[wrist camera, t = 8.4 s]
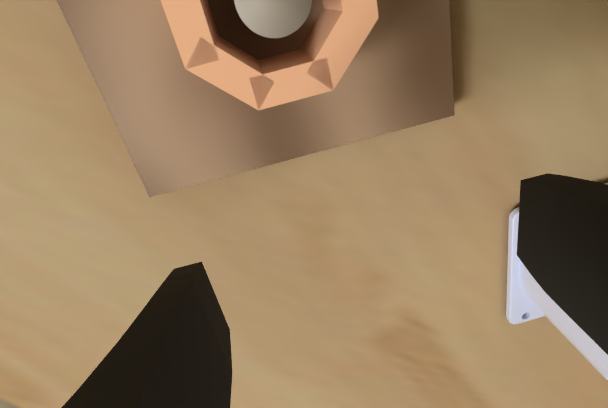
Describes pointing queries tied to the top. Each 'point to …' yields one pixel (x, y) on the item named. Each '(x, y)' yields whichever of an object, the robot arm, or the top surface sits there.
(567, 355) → the top surface
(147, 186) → the peg plate
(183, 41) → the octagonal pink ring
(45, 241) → the top surface
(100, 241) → the top surface
